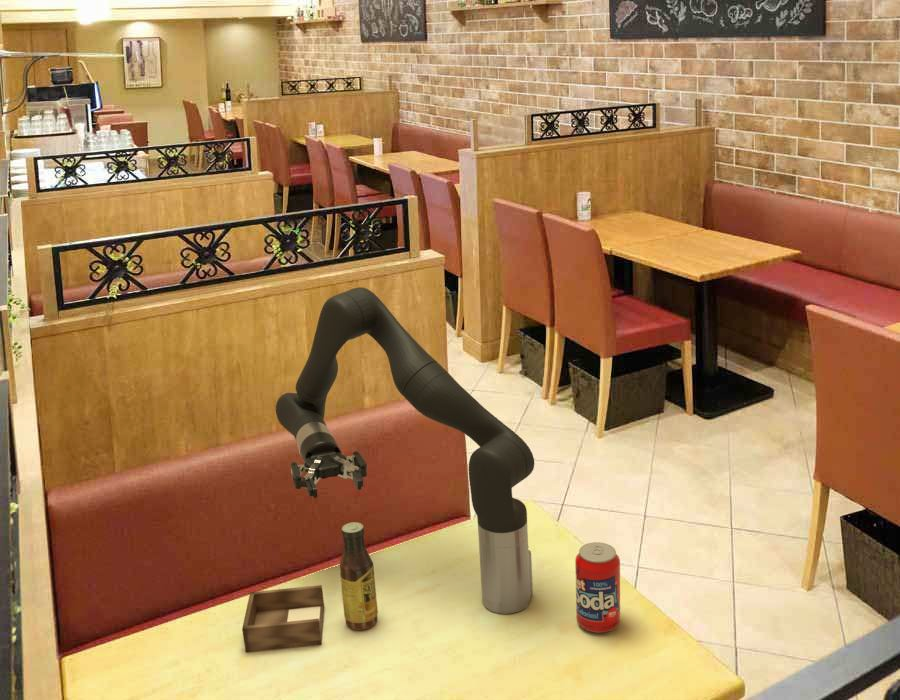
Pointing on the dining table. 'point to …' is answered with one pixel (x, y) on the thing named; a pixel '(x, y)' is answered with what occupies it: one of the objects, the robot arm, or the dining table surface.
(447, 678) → the dining table surface
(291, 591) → the box
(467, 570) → the dining table surface
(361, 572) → the sauce bottle
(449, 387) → the robot arm
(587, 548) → the soda can
